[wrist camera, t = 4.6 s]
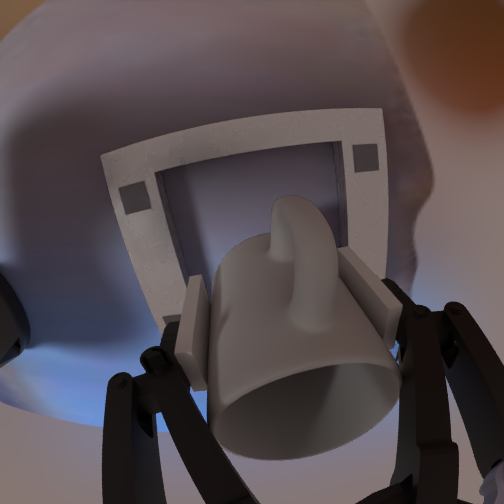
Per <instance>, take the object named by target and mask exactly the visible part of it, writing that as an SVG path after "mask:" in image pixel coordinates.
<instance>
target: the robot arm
mask: <svg viewBox="0 0 504 504" xmlns="http://www.w3.org/2000/svg"><path fill="white" fill-rule="evenodd" d="M337 253H338V276H339V277H340V279H341V280H342V281H343V283H344V284H345V286H346V287H347V288H348V290H349V291H350V293H351V294H352V296H353V297H354V298H355V300H356V301H357V303H358V304H359V306H360V307H361V309H362V310H363V311H364V313H365V314H366V316H367V317H368V319H369V320H370V322H371V323H372V325H373V326H374V328H375V329H376V331H377V332H378V334H379V335H380V337H381V338H382V340H383V341H384V343H385V344H386V346H387V347H388V349H392V348H394V344H395V340H397V342H398V343H399V348H398V352H397V356H396V361H397V360H399V368H400V370H401V373H402V377H403V383H402V386H401V389H400V391H399V429H398V444H397V455H396V465H395V470H394V473H393V475H392V478H391V481H390V486H389V487H387V488H385V489H382V490H379V491H377V492H375V493H372V494H371V495H369V496H367V497H366V498H364V499H363V500H361V501H359V502H357V503H356V504H472V503H469V502H466V501H462V500H459V499H457V494H458V476H459V451H458V445H457V443H454V442H452V439H451V424H450V412H449V401H448V393H447V385H446V379H447V381H448V383H449V386H450V388H451V390H452V393H453V395H454V398H455V400H456V403H457V406H458V408H459V411H460V414H461V416H462V419H463V422H464V425H465V428H466V431H467V434H468V437H469V440H470V443H471V446H472V450H473V454H474V457H475V460H476V463H477V466H478V469H479V471H480V473H481V475H482V477H483V479H484V481H483V484H482V486H481V487H480V489H479V493H480V495H482V496H484V503H483V504H504V365H503V364H502V362H501V360H500V359H499V357H498V355H497V354H496V352H495V350H494V349H493V347H492V345H491V344H490V342H489V341H488V339H487V338H486V336H485V335H484V333H483V332H482V330H481V329H480V327H479V326H478V324H477V323H476V321H475V320H474V318H473V317H472V316H471V314H470V313H469V311H468V310H467V309H466V307H465V306H464V305H462V304H461V303H459V302H449V303H447V304H446V305H445V307H444V311H435V312H431V311H430V309H429V308H427V307H426V306H423V305H416V304H415V303H414V302H413V301H412V300H411V299H410V298H409V297H408V296H407V295H406V294H405V292H403V290H402V289H401V288H399V286H398V285H397V284H396V283H395V282H394V281H392V280H390V279H388V278H385V279H381V280H380V279H379V278H378V277H377V276H376V275H375V274H374V273H373V272H372V270H371V269H370V268H369V267H368V266H367V265H366V264H365V263H364V262H363V261H362V260H361V259H360V258H359V257H358V256H357V255H356V254H355V253H354V252H353V250H352V249H351V248H350V247H349V246H347V247H342V248H337ZM210 315H211V305H210V301H209V298H208V295H207V291H206V288H205V284H204V281H203V277H202V274H200V275H194V276H190V277H189V281H188V286H187V291H186V295H185V300H184V305H183V310H182V315H181V320H180V321H174V322H169V323H168V324H167V326H166V327H165V328H164V331H163V335H162V336H163V337H162V339H161V343H160V346H154V347H150V348H148V349H147V350H145V351H144V352H143V353H142V355H141V357H140V363H141V364H142V366H143V368H144V369H145V371H146V373H144V374H142V375H139V376H136V377H133V378H132V376H131V375H130V374H129V373H126V372H120V373H117V374H115V375H114V376H112V377H111V379H110V380H109V382H108V386H107V394H106V403H105V414H104V427H103V444H102V447H103V448H102V495H103V504H167V503H166V497H165V491H164V485H163V478H162V471H161V464H160V456H159V446H158V436H157V424H156V413H159V412H161V413H162V415H163V418H164V420H165V423H166V425H167V427H168V430H169V432H170V434H171V436H172V439H173V441H174V443H175V446H176V448H177V450H178V452H179V454H180V456H181V458H182V460H183V462H184V464H185V466H186V468H187V470H188V472H189V474H190V476H191V478H192V480H193V482H194V484H195V485H196V487H197V489H198V491H199V493H200V494H201V496H202V498H203V500H204V501H205V503H206V504H260V503H259V501H258V500H257V499H256V497H255V496H254V495H253V493H252V492H251V491H250V489H249V488H248V487H247V485H246V484H245V482H244V481H243V480H242V478H241V477H240V475H239V474H238V472H237V471H236V469H235V468H234V466H233V465H232V464H231V462H230V460H229V459H228V458H227V456H226V454H225V453H224V451H223V450H222V448H221V446H220V445H219V443H218V441H217V440H216V438H215V437H214V435H213V433H212V432H211V430H210V429H209V427H208V425H207V423H206V421H205V419H204V418H203V416H202V414H201V412H200V411H199V409H198V407H197V405H196V403H195V401H194V399H193V398H192V396H191V394H190V386H191V387H192V389H193V391H205V390H207V383H208V356H209V334H210ZM29 340H30V329H29V324H28V321H27V318H26V315H25V312H24V310H23V308H22V306H21V304H20V302H19V300H18V298H17V297H16V295H15V293H14V292H13V290H12V289H11V287H10V286H9V284H8V283H7V282H6V280H5V279H4V278H3V276H2V275H1V274H0V368H1V367H3V366H4V365H5V364H7V363H8V362H10V361H11V360H13V359H14V358H16V357H17V356H19V355H20V354H21V353H22V352H23V350H24V349H25V347H26V346H27V344H28V343H29ZM445 376H446V379H445Z"/></svg>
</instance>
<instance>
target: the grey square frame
mask: <svg viewBox="0 0 504 504" xmlns="http://www.w3.org/2000/svg"><path fill="white" fill-rule="evenodd" d="M329 141H332V143H333V151H334V160H335V170H336V181H337V194H338V209H339V228H340V248H342V247H347V246H349V247H350V248H351V249H352V250H353V252H354V253H355V254H356V255H357V256H358V257H359V258H360V259H361V260H362V261H363V262H364V263H365V264H366V265H367V266H368V267H369V268H370V269H371V270H372V272H373V273H374V274H375V275H376V276H377V277H378V278H379V279H380V280H381V279H385V274H386V261H387V245H388V169H387V152H386V140H385V130H384V121H383V113H382V108H341V109H319V110H305V111H294V112H284V113H275V114H267V115H259V116H253V117H246V118H240V119H234V120H228V121H223V122H218V123H213V124H208V125H203V126H198V127H194V128H190V129H185V130H181V131H177V132H173V133H169V134H166V135H162V136H158V137H155V138H151V139H148V140H144V141H141V142H138V143H135V144H131V145H128V146H125V147H122V148H119V149H116V150H113V151H111V152H108V153H105V154H102V155H100V157H101V161H102V166H103V170H104V174H105V178H106V182H107V186H108V190H109V193H110V197H111V201H112V204H113V208H114V211H115V214H116V218H117V221H118V224H119V227H120V230H121V234H122V237H123V240H124V243H125V246H126V248H127V251H128V254H129V257H130V260H131V263H132V265H133V268H134V271H135V273H136V276H137V278H138V281H139V284H140V286H141V289H142V291H143V294H144V296H145V298H146V301H147V303H148V306H149V308H150V310H151V313H152V315H153V317H154V319H155V322H156V324H157V326H158V328H159V331H160V333H161V335H163V331H164V328H165V327H166V326H167V324H168V323H169V322H174V321H180V320H181V315H182V310H183V305H184V300H185V295H186V291H187V286H188V281H189V274H188V271H187V267H186V264H185V261H184V257H183V254H182V250H181V247H180V243H179V240H178V236H177V233H176V229H175V225H174V222H173V218H172V214H171V210H170V206H169V202H168V198H167V194H166V190H165V186H164V182H163V178H162V173H161V170H165V169H168V168H173V167H177V166H181V165H185V164H189V163H194V162H198V161H203V160H208V159H212V158H217V157H223V156H228V155H233V154H239V153H244V152H250V151H256V150H263V149H269V148H276V147H284V146H291V145H300V144H309V143H318V142H329ZM162 337H163V336H162Z"/></svg>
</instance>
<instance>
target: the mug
mask: <svg viewBox="0 0 504 504" xmlns="http://www.w3.org/2000/svg"><path fill="white" fill-rule="evenodd" d="M402 383H403V377H402V373H401V370H400V368H399V365H398V364H397V362H396V360H395V358H394V357H393V355H392V354H391V352H390V351H389V349H388V347H387V346H386V344H385V343H384V341H383V340H382V338H381V337H380V335H379V334H378V332H377V331H376V329H375V328H374V326H373V325H372V323H371V322H370V320H369V319H368V317H367V316H366V314H365V313H364V311H363V310H362V309H361V307H360V306H359V304H358V303H357V301H356V300H355V298H354V297H353V296H352V294H351V293H350V291H349V290H348V288H347V287H346V286H345V284H344V283H343V281H342V280H341V279H340V277H339V276H338V255H337V248H336V244H335V239H334V236H333V234H332V231H331V228H330V227H329V225H328V223H327V221H326V219H325V218H324V216H323V215H322V213H321V212H320V211H319V210H318V209H317V208H316V206H315V205H314V204H313V203H311V202H310V201H309V200H307V199H305V198H302V197H299V196H293V195H290V196H283V197H280V198H278V199H277V200H276V201H275V203H274V204H273V207H272V212H271V233H266V234H261V235H257V236H254V237H252V238H249V239H247V240H245V241H243V242H241V243H240V244H238V245H237V246H235V247H234V248H233V249H232V250H231V251H229V252H228V253H227V255H226V256H225V257H224V258H223V259H222V261H221V263H220V264H219V266H218V267H217V270H216V272H215V274H214V278H213V281H212V289H211V315H210V334H209V356H208V383H207V425H208V427H209V429H210V430H211V432H212V433H213V435H214V437H215V438H216V440H217V441H218V443H219V445H220V446H221V448H222V449H224V450H226V451H228V452H230V453H232V454H235V455H237V456H241V457H244V458H249V459H255V460H266V461H267V460H268V461H282V460H293V459H299V458H305V457H309V456H314V455H318V454H321V453H324V452H327V451H330V450H333V449H335V448H338V447H340V446H342V445H345V444H347V443H349V442H351V441H353V440H355V439H357V438H358V437H360V436H362V435H363V434H365V433H366V432H368V431H369V430H370V429H372V428H373V427H374V426H376V425H377V424H378V423H379V422H380V421H381V420H383V418H385V417H386V415H387V414H388V413H389V412H390V411H391V410H392V408H393V407H394V406H395V404H396V403H397V401H398V399H399V391H400V389H401V386H402Z"/></svg>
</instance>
